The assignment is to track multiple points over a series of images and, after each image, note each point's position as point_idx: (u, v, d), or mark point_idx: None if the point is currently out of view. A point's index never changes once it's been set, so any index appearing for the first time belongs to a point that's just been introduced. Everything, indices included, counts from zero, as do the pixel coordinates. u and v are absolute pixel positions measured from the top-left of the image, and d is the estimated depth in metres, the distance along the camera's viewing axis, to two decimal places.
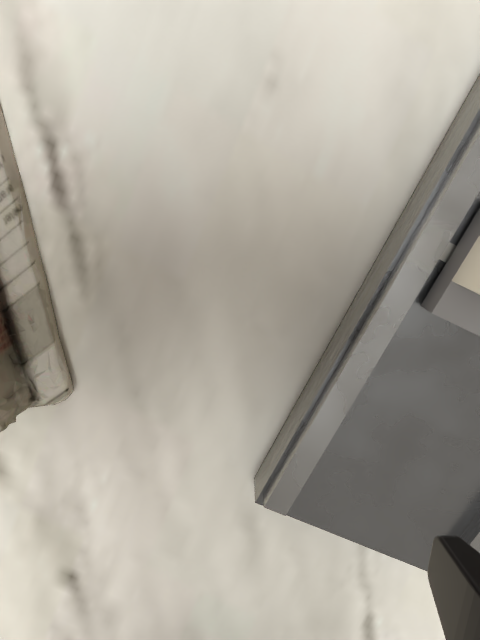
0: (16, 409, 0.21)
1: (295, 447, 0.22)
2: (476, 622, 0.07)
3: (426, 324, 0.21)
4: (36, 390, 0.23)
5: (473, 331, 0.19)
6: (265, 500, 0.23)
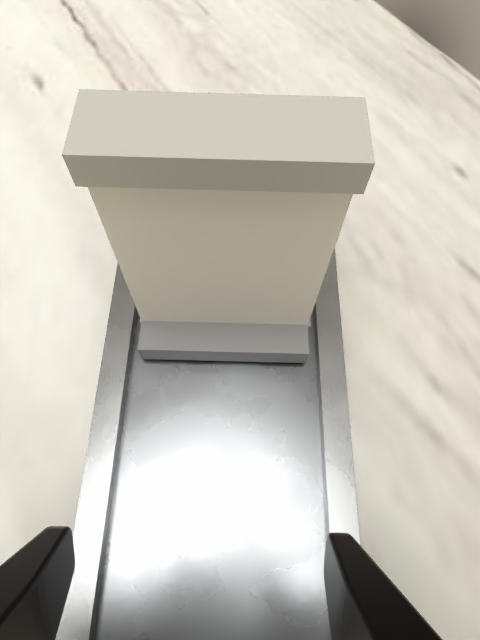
0: None
1: None
2: (346, 619, 0.07)
3: (158, 374, 0.22)
4: None
5: (180, 349, 0.21)
6: None
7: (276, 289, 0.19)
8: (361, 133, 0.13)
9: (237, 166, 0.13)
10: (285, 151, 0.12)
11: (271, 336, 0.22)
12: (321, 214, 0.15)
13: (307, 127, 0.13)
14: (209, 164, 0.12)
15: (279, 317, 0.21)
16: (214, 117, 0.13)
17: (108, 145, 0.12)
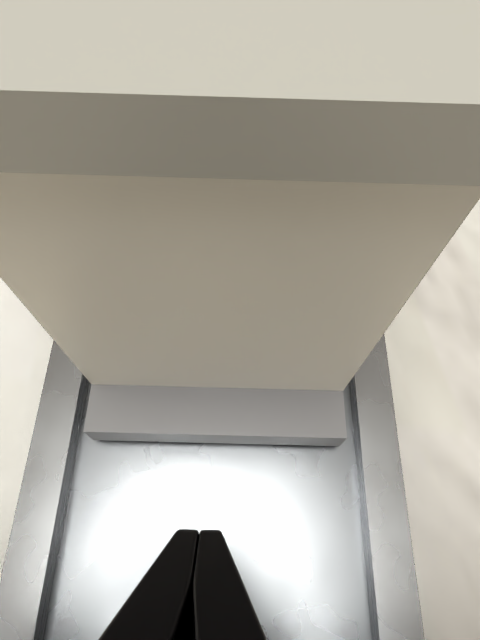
0: None
1: None
2: (192, 616, 0.07)
3: (118, 463, 0.15)
4: None
5: (149, 431, 0.14)
6: None
7: (301, 348, 0.12)
8: None
9: (235, 117, 0.05)
10: (355, 79, 0.05)
11: (288, 409, 0.14)
12: (407, 229, 0.07)
13: (402, 27, 0.05)
14: (166, 110, 0.05)
15: (301, 382, 0.14)
16: (183, 5, 0.06)
17: None
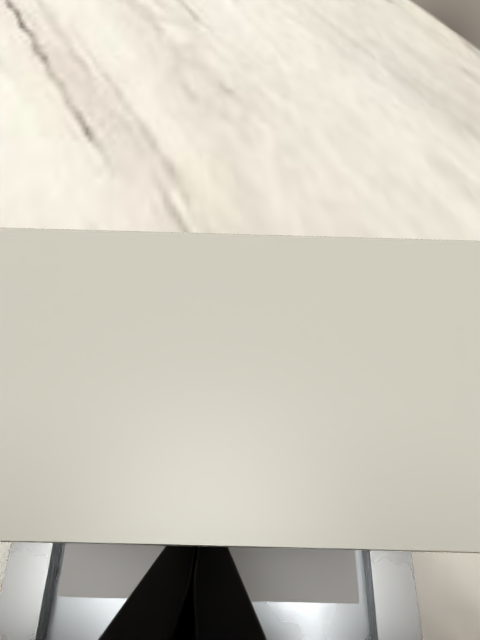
0: None
1: None
2: (193, 616, 0.07)
3: (97, 635, 0.13)
4: None
5: None
6: None
7: None
8: None
9: (220, 546, 0.03)
10: (405, 493, 0.03)
11: (292, 566, 0.12)
12: None
13: (468, 369, 0.04)
14: (114, 543, 0.03)
15: None
16: (147, 328, 0.04)
17: None
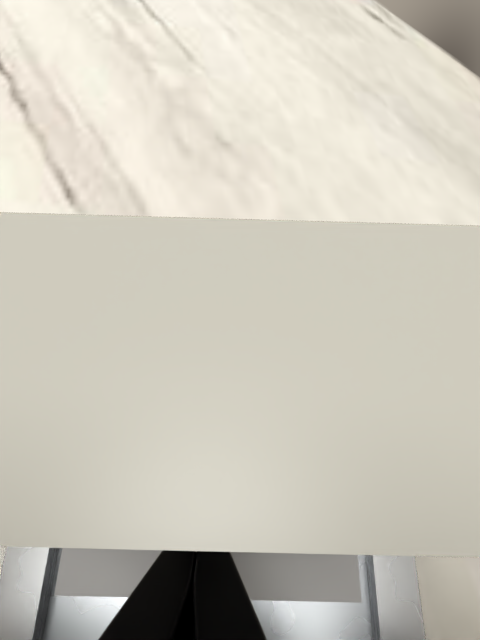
0: None
1: None
2: (192, 616, 0.07)
3: None
4: None
5: None
6: None
7: None
8: None
9: (220, 551, 0.03)
10: (419, 494, 0.03)
11: (293, 564, 0.12)
12: None
13: None
14: None
15: None
16: (142, 318, 0.04)
17: None
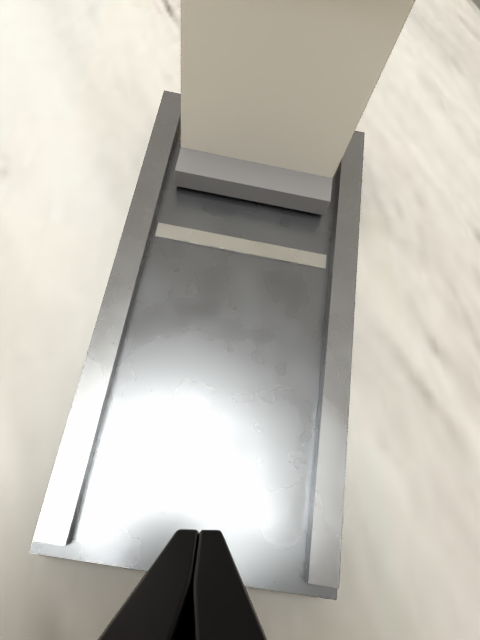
0: None
1: None
2: (192, 616, 0.07)
3: (168, 289, 0.22)
4: None
5: (214, 177, 0.23)
6: None
7: (316, 122, 0.21)
8: None
9: None
10: None
11: (298, 181, 0.23)
12: (381, 22, 0.16)
13: None
14: None
15: (309, 163, 0.23)
16: None
17: None
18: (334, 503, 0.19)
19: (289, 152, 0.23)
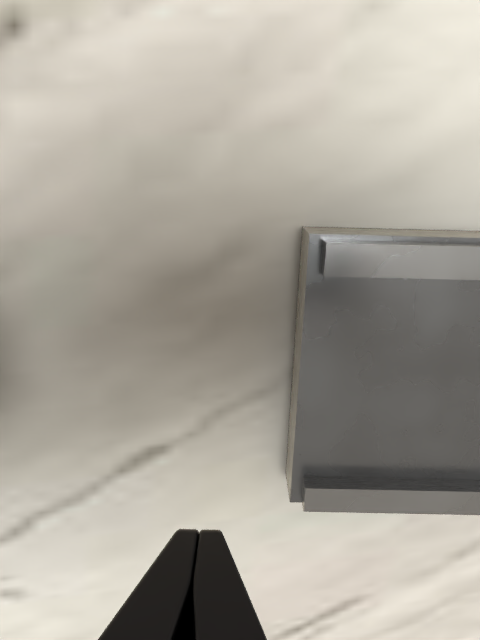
0: None
1: (421, 244, 0.16)
2: (193, 616, 0.07)
3: None
4: None
5: None
6: (331, 242, 0.16)
7: None
8: None
9: None
10: None
11: None
12: None
13: None
14: None
15: None
16: None
17: None
18: (373, 505, 0.20)
19: None
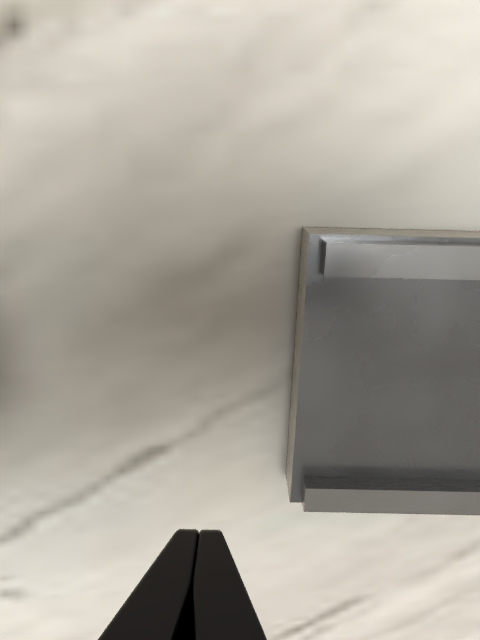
0: None
1: (421, 244, 0.16)
2: (192, 616, 0.07)
3: None
4: None
5: None
6: (331, 242, 0.16)
7: None
8: None
9: None
10: None
11: None
12: None
13: None
14: None
15: None
16: None
17: None
18: (373, 505, 0.20)
19: None
